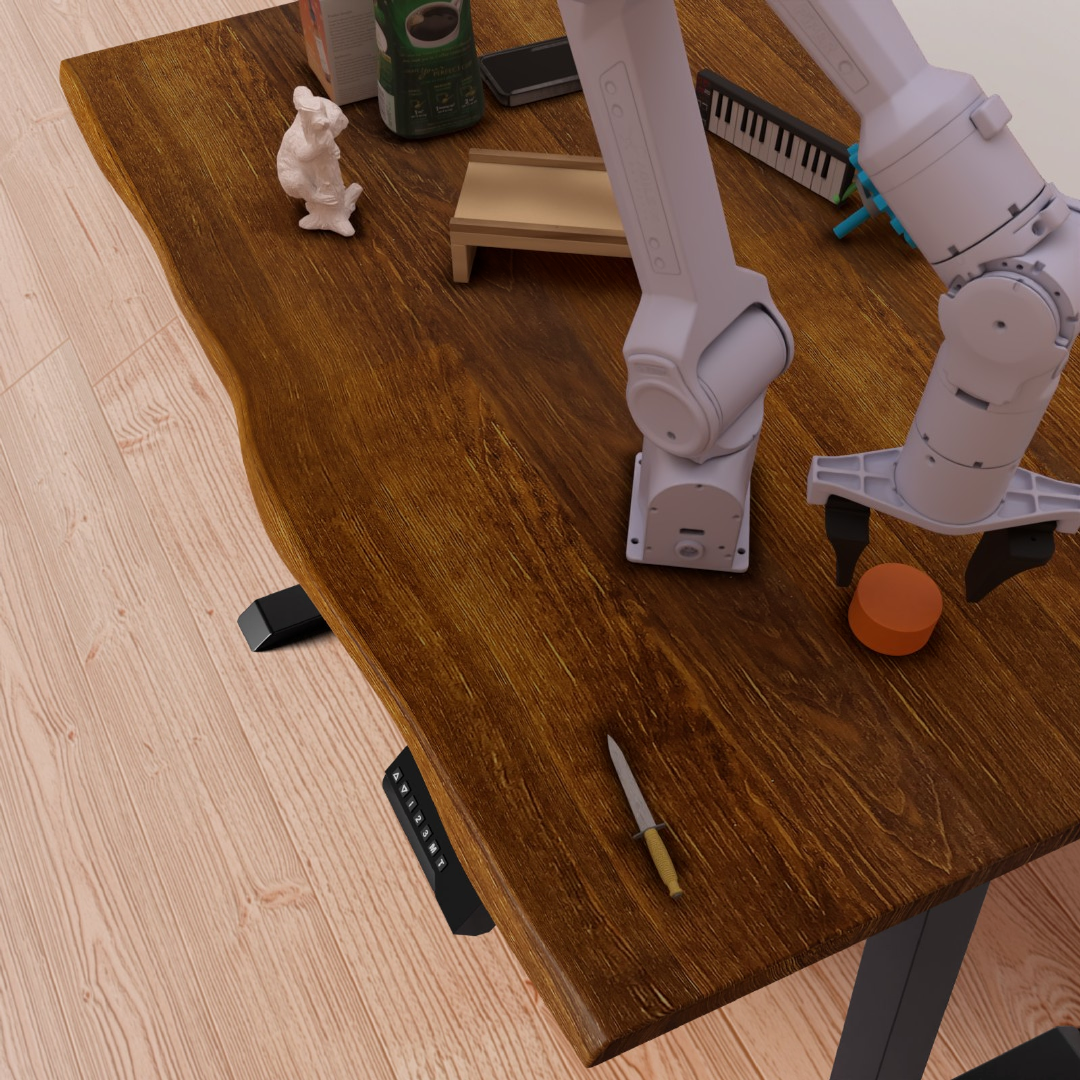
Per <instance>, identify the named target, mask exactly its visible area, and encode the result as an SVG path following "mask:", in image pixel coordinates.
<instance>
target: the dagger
mask: <svg viewBox="0 0 1080 1080" xmlns="http://www.w3.org/2000/svg"><path fill="white" fill-rule="evenodd" d="M607 743H608V750H609V754H610V758H611V760H612V762H613V765H614V768H615V771H616V773H617V775H618V779H619V781H620V784H621V785H622V788H623V790H624V793H625V796H626V798H627V801H628V804H629V806H630V808H631V812H632V815H633V816H634V818H635V821H636V824H637V826H638V829H639V831H640V832H638V833H636V834H634V835H633V836H632V839H633V840H637V839H641V838H644V839H645V841H646V845H647V848H648V850H649V853H650V856H651V859H652V861H653V863H654V866H655V868H656V870H657V872H658V874H659V876H660V878H661V880H662V882H663V884H664V885H665V886H667V888H668V890H669V896H670V898H672V899H674V900H677V899H680V898H681V897H682V895H683V891H684V890H683V888H681V887H680V885H679V883H678V881H679V877H678V875H677V871H676V869H675V866H674V864H673V862H672V859H671V856H670V855H669V853H668V850H667V848H666V846H665V844H664V842H663V840H662V838H661V836H660V835H659V833H658V831H660V830H661V829H664V828H665V827H667V823H666V822H662V823H658V824H657V823H656V822H655V819H654V817H653V815H652V813H651V811H650V808H649V806H648V805H647V802H646V800H645V798H644V797H643V793H642V791H641V789H640V787H639V786H638V783H637V781H636V778H635V777H634V775H633V773H632V770H631V768H630V766H629V764H628V762H627V759H626V758H625V755H624V753H623V751H622V750H621V748H620V747H619V746H618V745H619V744H618V743H616V741H615V740H614V739H613V737H612V736H611V735H609V734H607Z"/></svg>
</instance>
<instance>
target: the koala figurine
mask: <svg viewBox="0 0 1080 1080" xmlns="http://www.w3.org/2000/svg"><path fill="white" fill-rule="evenodd" d="M292 96H293V98H292V102H293V104H294V108H295V110H296V111H297V114H296V115H295V118H294V120H293V123H292V124H291V125H290V127H289V128H288V129H287V130H286V131H285V133H284V134H283V137H282V141H281V143H280V147H279V149H278V152H277V155H276V168H277V178H278V180H279V182H280V186H281V187H282V189H283V191H284V192H285V194H287V195H288V196H289V197H293V198H294V199H303V200H304V201H305V203H304V205H305V209H306V211H307V212H308V213H309V214H307V215H305V216H304V217H302V218H301V219H300V220H299V221H298V226H299V227H300V228H302V229H304V230H305V229H306V230H326V231H327V230H328V231H329V230H330V231H332V232H335V233H337V234H339V235H341V236H343V237H352V236H354V235H355V232H356V230H355V229H354V227H353V225H352V223H351V222H350V220H349V219H350V217H351V214H352V213H353V212H354V211H355V210H356V203H357V201H358V199H359V198H360V196H361V194H362V192H363V191H364V188H363V187H362V185H359V183H358V182H353V183H351V184H350V185H349V186H348V187H347V186H345V185H344V184H345V182H344V181H343V177H342V171H341V168H340V163H339V160H340V159H341V150H340V147H339V146H338V145H337V143H336V141H335V139H336V137H338V136H339V135H340V134H341V132H342V131H343V130H345V129H347V127H348V124H349V119H348V117H347V116H346V115H345V114H344V113H343V110H342V109H341V108H340V106H338V105H336V104H335V103H333V102H332V100H331V99H327V98H326V97H321V96H314V95H313V92H312V91H311V89H309V88H308V87H307V86H306V85H305V86H304V85H298V86H296V87H295V88H294V90H293V94H292ZM346 187H347V188H346Z"/></svg>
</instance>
